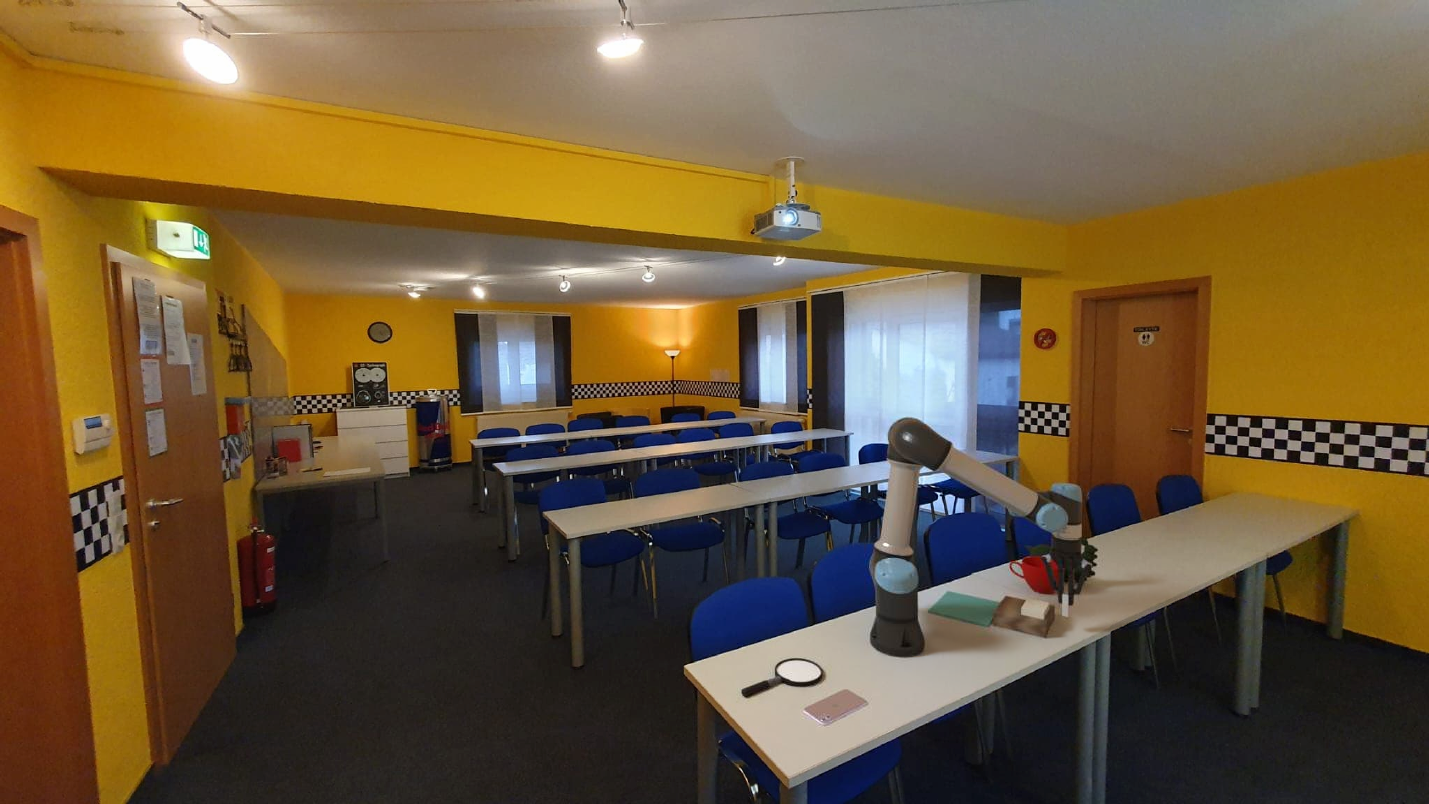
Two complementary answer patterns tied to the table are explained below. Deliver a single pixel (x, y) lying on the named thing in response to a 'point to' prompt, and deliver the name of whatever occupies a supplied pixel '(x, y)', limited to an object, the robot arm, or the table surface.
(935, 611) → the mat
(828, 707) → the mobile phone
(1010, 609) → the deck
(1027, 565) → the ceramic cup
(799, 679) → the magnifying glass
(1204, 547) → the table surface
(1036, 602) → the tile
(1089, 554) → the toy figurine
